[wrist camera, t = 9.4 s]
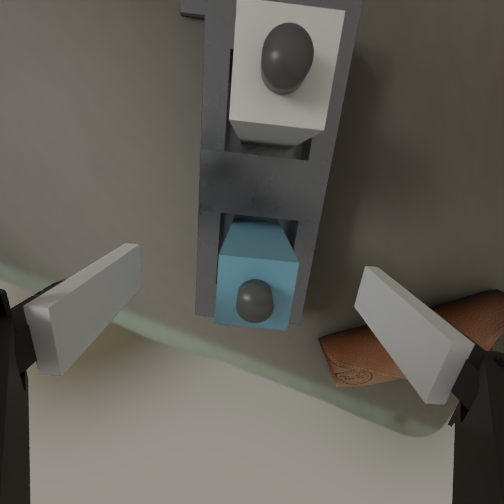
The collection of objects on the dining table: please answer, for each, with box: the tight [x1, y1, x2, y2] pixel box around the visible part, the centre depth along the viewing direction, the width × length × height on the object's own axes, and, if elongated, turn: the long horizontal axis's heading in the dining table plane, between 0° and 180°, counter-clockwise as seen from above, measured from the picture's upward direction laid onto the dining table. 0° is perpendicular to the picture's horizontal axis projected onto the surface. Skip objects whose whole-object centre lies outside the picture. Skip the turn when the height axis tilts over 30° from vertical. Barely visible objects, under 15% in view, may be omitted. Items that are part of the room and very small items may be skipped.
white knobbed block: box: [229, 0, 345, 149], centre depth 14 cm, size 4×4×11 cm
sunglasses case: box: [318, 289, 504, 388], centre depth 25 cm, size 18×7×7 cm
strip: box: [195, 0, 363, 325], centre depth 19 cm, size 22×9×4 cm, turn 174°
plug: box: [214, 217, 299, 330], centre depth 17 cm, size 4×4×11 cm
